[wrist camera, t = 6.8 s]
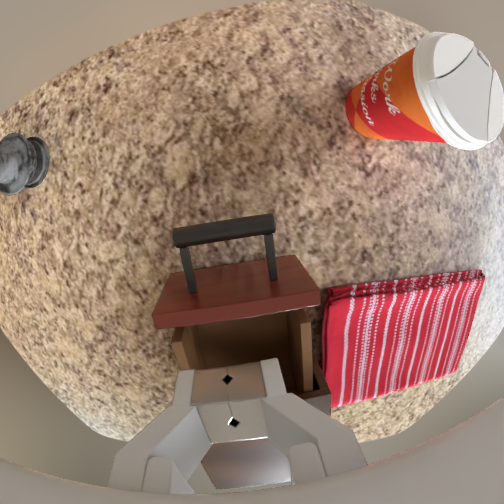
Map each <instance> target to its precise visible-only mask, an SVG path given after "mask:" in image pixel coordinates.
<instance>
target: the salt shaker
mask: <svg viewBox="0 0 504 504" xmlns="http://www.w3.org/2000/svg"><path fill="white" fill-rule="evenodd" d="M48 166H49V152H48V149H47V146H46V144H45V143H44V142H43V140H41V139H40V138H37V137H30V138H27V139H26V138H25V137H24V136H23V135H21V134H19V133H11V134H8V135H7V136H5V137H4V138H3V139H2V140H1V141H0V191H1V192H2V193H3V194H5V195H15V194H17V193H18V192H20V191H21V190H22V189H23V188H24V187H26V188H33V187H35V186H37V185H39V184H40V183H41V182H42V180H43V179H44V177H45V176H46V173H47V171H48Z"/></svg>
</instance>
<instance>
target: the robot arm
mask: <svg viewBox="0 0 504 504" xmlns="http://www.w3.org/2000/svg"><path fill="white" fill-rule="evenodd" d="M260 438H268V439H269V440H270V441H271V442H272V443H273V444H274V445H275V446H276V447H278V448H279V449H280V450H281V451H282V452H283V453H284V454H285V455H286V456H287V457H288V458H289V466H290V477H291V485H288V486H282V487H276V488H270V489H262V490H254V491H244V492H234V493H218V494H195V492H194V491H193V490H192V488H191V487H190V486H189V484H188V483H187V480H188V479H189V477H190V476H191V475H192V473H193V471H194V470H195V469H196V467H197V466H198V465H199V463H200V462H201V460H202V459H203V457H204V456H205V455H206V453H207V452H208V450H209V449H210V447H211V446H212V445H211V444H215V443H225V442H233V441H241V440H251V439H260ZM0 504H504V397H502V398H501V399H500V400H498V401H497V402H495V403H494V404H492V405H491V406H489V407H487V408H486V409H484V410H483V411H481V412H480V413H478V414H476V415H475V416H473V417H472V418H470V419H468V420H466V421H465V422H463V423H461V424H459V425H458V426H456V427H454V428H452V429H450V430H448V431H446V432H445V433H443V434H441V435H439V436H437V437H435V438H433V439H430V440H428V441H426V442H425V443H422V444H420V445H418V446H415V447H413V448H411V449H409V450H406V451H404V452H402V453H399V454H396V455H394V456H391V457H389V458H386V459H383V460H381V461H378V462H375V463H372V464H369V465H368V464H367V462H366V459H365V457H364V455H363V453H362V450H361V448H360V446H359V443H358V441H357V439H356V437H355V434H354V432H353V430H352V429H350V428H348V427H347V426H345V425H343V424H342V423H340V422H338V421H336V420H335V419H333V418H331V417H330V416H328V415H326V414H325V413H323V412H322V411H320V410H318V409H317V408H315V407H314V406H312V405H310V404H309V403H307V402H306V401H304V400H302V399H301V398H299V397H298V396H296V395H295V394H293V393H287V392H286V388H285V384H284V381H283V377H282V373H281V369H280V365H279V362H278V359H277V358H272V359H267V360H262V361H259V362H253V363H246V364H239V365H232V366H223V367H213V368H202V369H196V370H195V369H191V370H180V371H179V372H178V374H177V380H176V385H175V390H174V396H173V402H172V407H167V408H166V409H165V410H163V411H162V412H161V413H160V414H159V415H158V416H157V417H156V418H155V419H154V420H153V421H151V422H150V423H149V424H148V425H147V426H146V427H145V428H144V429H143V430H142V431H140V432H139V433H138V434H137V435H136V436H135V437H134V438H133V439H131V440H130V441H129V442H128V443H127V444H126V445H125V446H124V447H122V448H121V449H120V450H119V451H118V452H117V453H116V455H115V458H114V462H113V465H112V469H111V473H110V476H109V481H108V484H107V487H101V486H95V485H90V484H85V483H80V482H75V481H72V480H67V479H63V478H60V477H56V476H52V475H49V474H45V473H42V472H39V471H36V470H33V469H29V468H27V467H24V466H21V465H18V464H16V463H13V462H10V461H8V460H5V459H3V458H0Z"/></svg>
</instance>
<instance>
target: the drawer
mask: <svg viewBox="0 0 504 504" xmlns="http://www.w3.org/2000/svg"><path fill="white" fill-rule="evenodd" d="M275 231H276V227H275V220H274V216H273V214H272V213H269V214H262V215H255V216H248V217H242V218H235V219H228V220H222V221H216V222H210V223H203V224H197V225H191V226H185V227H179V228H174V229H173V240H174V244H175V246H176V248H180V254H181V259H182V263H183V268H184V272H177V273H171V274H170V275H169V278H168V280H167V282H166V284H165V286H164V288H163V291H162V293H161V295H160V297H159V299H158V301H157V304H156V306H155V308H154V310H153V313H152V318H153V321H154V325H155V328H156V329H164V328H173V327H175V330H174V333H173V337H172V341H171V344H172V348H173V351H174V354H175V356H176V359H177V362H178V365H179V368H180V370H191V369H195V370H196V369H202V368H213V367H223V366H232V365H239V364H246V363H253V362H259V361H262V360H267V359H272V358H277V359H278V362H279V365H280V369H281V373H282V377H283V381H284V384H285V388H286V392H287V393H293V394H295V395H297V394H302V393H307V392H312V391H313V365H312V336H311V321H310V319H309V317H308V315H307V314H306V312H305V310H304V308H306V307H311V306H317V305H320V304H321V303H320V289H319V288H318V286H317V285H316V283H315V282H314V281H313V279H312V278H311V276H310V275H309V274H308V272H307V271H306V269H305V268H304V267H303V265H302V264H301V262H300V261H299V260H298V258H297V257H296V256H295V255H288V256H281V257H275V248H274V240H273V234H272V233H275ZM258 235H264V242H265V249H266V257H267V259H262V260H256V261H249V262H243V263H236V264H230V265H223V266H217V267H210V268H204V269H197V270H193V266H192V261H191V256H190V251H189V246H193V245H200V244H206V243H212V242H219V241H225V240H231V239H238V238H244V237H251V236H258Z"/></svg>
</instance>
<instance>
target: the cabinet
mask: <svg viewBox="0 0 504 504" xmlns="http://www.w3.org/2000/svg"><path fill="white" fill-rule="evenodd" d="M312 365H313V391H312V392H307V393H302V394H297V395H296V396H298V397H299V398H301V399H302V400H304V401H306V402H307V403H309V404H310V405H312V406H314V407H315V408H317V409H318V410H320V411H322V412H323V413H325V414H326V415H328V416H330V415H331V398H332V393H331V391H330V388H329V386H328V384H327V382H326V379H325V377H324V375H323V372H322V370H321V368H320V366H319V363H318V361H317V359H316V357H315V354H314V352H313V350H312ZM211 445H212V446H211V447H210V449H209V450H208V452H207V453H206V455H205V456H204V457H203V459H202V460H201V464H202V465H203V467H204V469H205V471H206V473H207V475H208V476H209V478H210V480H211V481H212V483H213V485H214V487H215V488H216V489H230V488H241V487H251V486H260V485H267V484H274V483H280V482H286V481H291V477H290V466H289V458H288V457H287V456H286V455H285V454H284V453H283V452H282V451H281V450H280V449H279V448H278V447H276V446H275V445H274V444H273V443H272V442H271V441H270V440H269V439H268V438H260V439H251V440H241V441H233V442H225V443H215V444H211Z"/></svg>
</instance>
